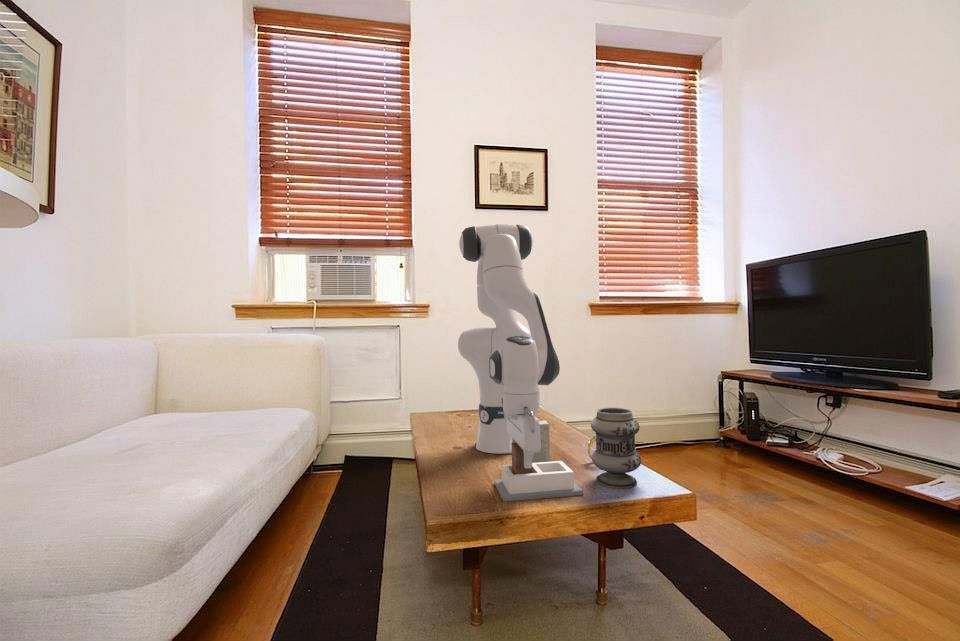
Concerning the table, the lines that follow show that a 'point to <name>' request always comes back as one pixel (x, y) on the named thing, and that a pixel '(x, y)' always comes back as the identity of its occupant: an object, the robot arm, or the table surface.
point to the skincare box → (543, 444)
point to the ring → (590, 444)
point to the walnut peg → (518, 461)
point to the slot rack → (538, 482)
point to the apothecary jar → (615, 447)
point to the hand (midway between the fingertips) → (522, 460)
